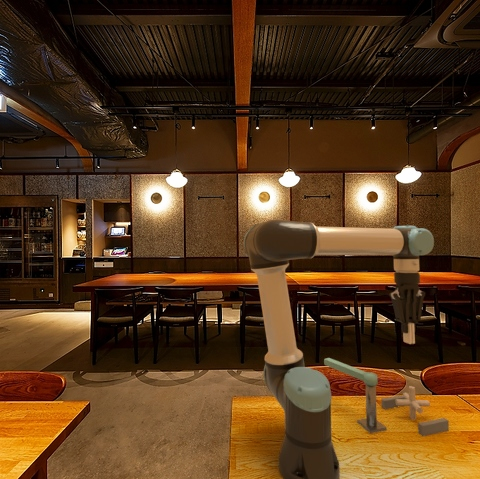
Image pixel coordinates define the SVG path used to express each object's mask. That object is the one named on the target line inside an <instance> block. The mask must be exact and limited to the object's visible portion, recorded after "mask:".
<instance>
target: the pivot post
mask: <svg viewBox="0 0 480 479" xmlns="http://www.w3.org/2000/svg"><path fill="white" fill-rule="evenodd" d="M365 410H366V411H365V413H366V414H365V415H366V416H365V418H360V419H357V420H356V421H357V424H358V425H359V426H361V427H362V428H364V430H365V431H366V432H368V433H369V434H375V433H379V432H385V431H387V427H386V426H385V425H384V424H383V423H382V422H380V421H379V420H377V419H378V417H377V415H378V414H377V412H378V411H377V385H375V386H371V385H367V384H365Z"/></svg>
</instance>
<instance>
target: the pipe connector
mask: <svg viewBox="0 0 480 479" xmlns="http://www.w3.org/2000/svg"><path fill="white" fill-rule="evenodd" d="M402 395H403V397H404V398H405V399H396V400H395V402H396V405H402V407H405V406H406V407H408V408H409V419H411V420H412V421H413V420H414V421H416V419H417V414H423V413H424V409H423V408H422V407H431V406H430V400H427V399H425V400H424V399H416V387H415V386H412V385H409V386H408V392H403V393H402Z"/></svg>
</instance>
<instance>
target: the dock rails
mask: <svg viewBox="0 0 480 479" xmlns="http://www.w3.org/2000/svg"><path fill="white" fill-rule="evenodd" d="M396 399H405V398H404V397H403V396H400V395H396V396H390V397H384V398H380V400H381V403H380V404H381V409H383V410H390V409H389V408H391V409H394V407H396V408H399V407H398V406H402V405H396V402H395V400H396ZM402 407H403V406H402ZM449 422H450V421H449V420H448V419H447V418H445V417H442V418H437V419H433V420H427V421H423V422H418V423H417V428H418V429H417V430H418V433H417V434H419V435H421V437H426V436H429V435H430V436H431V435H435V434H439V433H443V432H449V429H450V425H449Z"/></svg>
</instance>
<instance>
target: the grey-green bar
mask: <svg viewBox="0 0 480 479" xmlns="http://www.w3.org/2000/svg"><path fill="white" fill-rule="evenodd" d="M323 363H324V366H326V367H329V368H331V369H334V370H336V371H338V372H341V373H343V374H344V375H345V374H346V375H348V376H351V377H352V378H355V379H358V380H359V381H362V382H363V384H365V385H366V384H367V385H371V386H375V385H376V386H377V385H378V374H376V373H374V372H372V371H364V370H361V369H358V368H356V367H355V366H351V365H349V364H346V363H343V362H341V361H339V360H336V359H334V358H330V357H327V358H324V359H323Z"/></svg>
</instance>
